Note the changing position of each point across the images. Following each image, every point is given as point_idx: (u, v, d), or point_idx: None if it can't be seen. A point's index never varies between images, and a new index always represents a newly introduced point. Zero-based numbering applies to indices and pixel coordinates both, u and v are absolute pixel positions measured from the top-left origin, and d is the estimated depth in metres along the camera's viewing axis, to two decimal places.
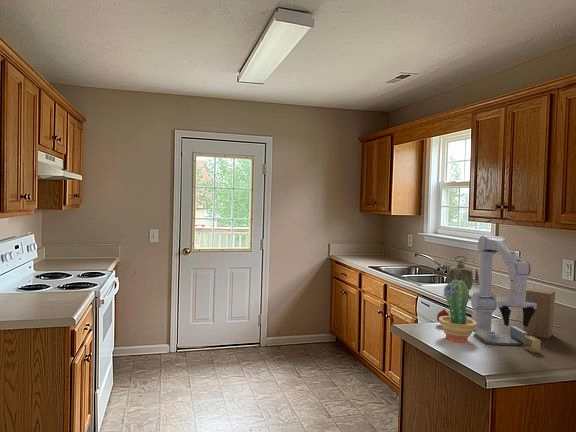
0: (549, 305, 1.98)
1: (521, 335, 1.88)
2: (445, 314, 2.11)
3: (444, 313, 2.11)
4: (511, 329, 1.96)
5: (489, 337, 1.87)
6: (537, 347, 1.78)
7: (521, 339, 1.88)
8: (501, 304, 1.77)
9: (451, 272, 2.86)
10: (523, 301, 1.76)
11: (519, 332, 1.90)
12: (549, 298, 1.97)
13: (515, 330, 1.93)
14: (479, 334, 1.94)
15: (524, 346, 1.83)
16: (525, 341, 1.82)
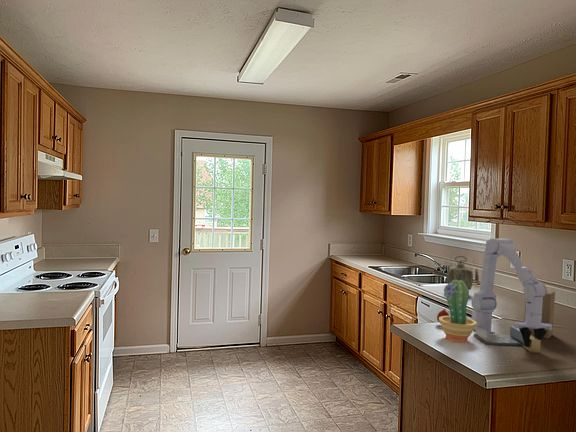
0: (549, 305, 1.98)
1: (521, 335, 1.88)
2: (445, 314, 2.11)
3: (444, 313, 2.11)
4: (511, 329, 1.96)
5: (489, 337, 1.87)
6: (537, 346, 1.78)
7: (521, 339, 1.88)
8: (517, 325, 1.80)
9: (451, 272, 2.86)
10: (539, 323, 1.78)
11: (519, 332, 1.90)
12: (549, 298, 1.97)
13: (515, 330, 1.93)
14: (479, 334, 1.94)
15: (524, 346, 1.83)
16: None
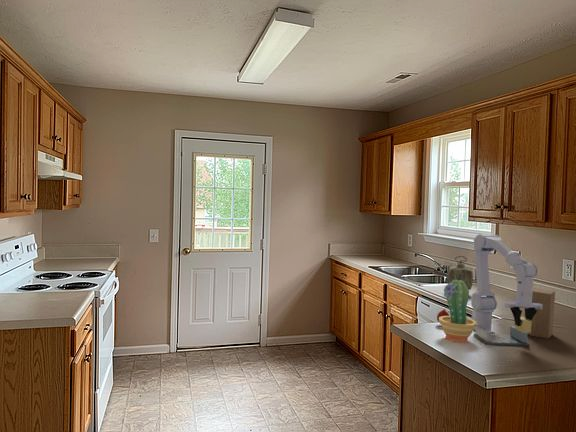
0: (549, 305, 1.98)
1: (521, 335, 1.88)
2: (445, 314, 2.11)
3: (444, 313, 2.11)
4: (511, 329, 1.96)
5: (489, 337, 1.87)
6: (528, 327, 1.81)
7: (521, 339, 1.88)
8: (508, 305, 1.83)
9: (451, 272, 2.86)
10: (529, 302, 1.82)
11: (519, 332, 1.90)
12: (549, 298, 1.97)
13: (515, 330, 1.93)
14: (479, 334, 1.94)
15: (515, 326, 1.86)
16: None
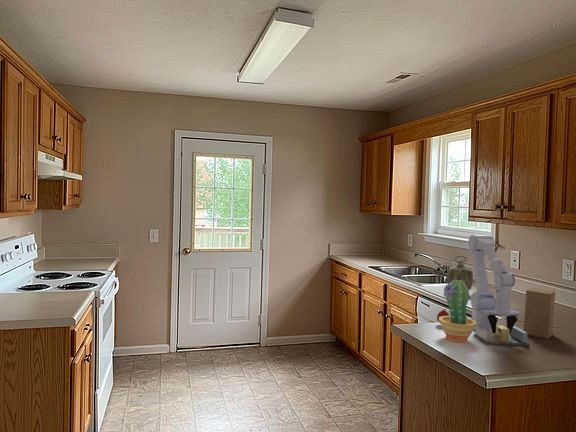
0: (549, 305, 1.98)
1: (521, 335, 1.88)
2: (445, 314, 2.11)
3: (444, 313, 2.11)
4: None
5: (489, 337, 1.87)
6: (506, 335, 1.89)
7: (521, 339, 1.88)
8: (487, 313, 1.91)
9: (451, 272, 2.86)
10: (508, 310, 1.89)
11: (519, 332, 1.90)
12: (549, 298, 1.97)
13: (515, 330, 1.93)
14: (479, 334, 1.94)
15: (495, 335, 1.94)
16: (496, 330, 1.93)
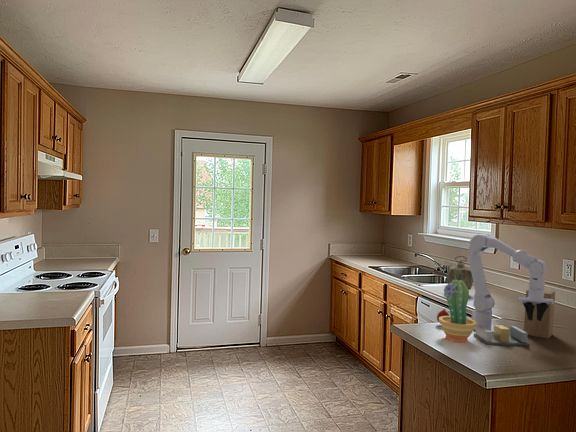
0: (549, 305, 1.98)
1: (521, 335, 1.88)
2: (445, 314, 2.11)
3: (444, 313, 2.11)
4: (511, 329, 1.96)
5: (489, 337, 1.87)
6: (506, 335, 1.89)
7: (521, 339, 1.88)
8: (521, 300, 1.91)
9: (451, 272, 2.86)
10: (541, 297, 1.89)
11: (519, 332, 1.90)
12: (549, 298, 1.97)
13: (515, 330, 1.93)
14: (479, 334, 1.94)
15: (495, 335, 1.94)
16: (496, 330, 1.93)
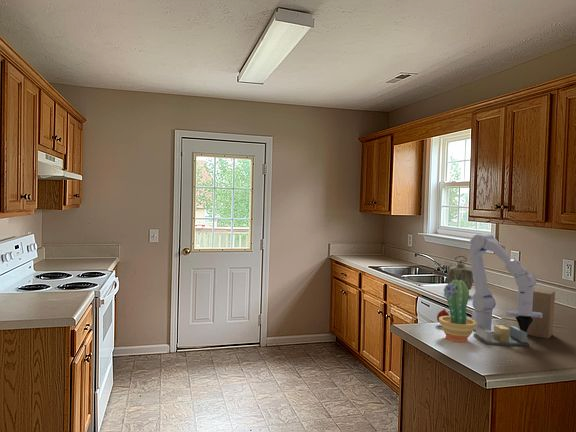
0: (549, 305, 1.98)
1: (521, 335, 1.88)
2: (445, 314, 2.11)
3: (444, 313, 2.11)
4: (510, 329, 1.96)
5: (489, 337, 1.87)
6: (506, 335, 1.89)
7: (521, 339, 1.88)
8: (509, 314, 1.91)
9: (451, 272, 2.86)
10: (530, 311, 1.89)
11: (519, 332, 1.90)
12: (549, 298, 1.97)
13: (515, 330, 1.93)
14: (479, 334, 1.94)
15: (495, 335, 1.94)
16: (496, 330, 1.93)
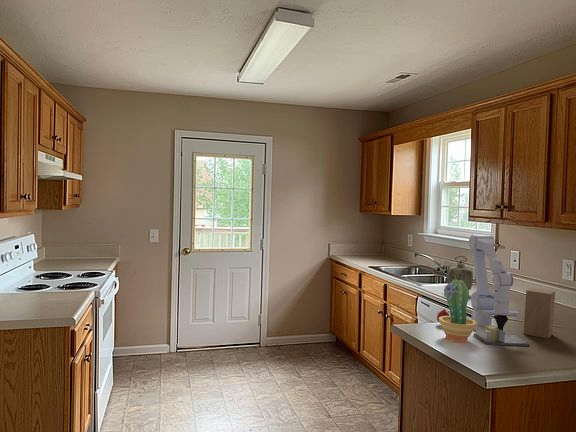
0: (549, 305, 1.98)
1: (498, 334, 1.88)
2: (445, 314, 2.11)
3: (444, 313, 2.11)
4: None
5: (489, 337, 1.87)
6: (495, 335, 1.89)
7: (498, 338, 1.88)
8: (486, 313, 1.91)
9: (451, 272, 2.86)
10: (506, 310, 1.89)
11: None
12: (549, 298, 1.97)
13: None
14: (479, 334, 1.94)
15: None
16: None
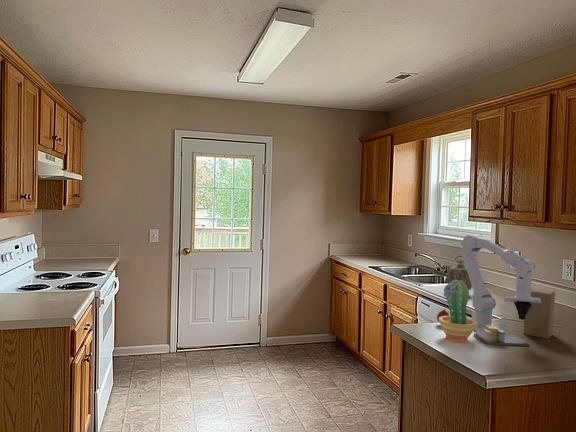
0: (549, 305, 1.98)
1: (498, 334, 1.88)
2: (445, 314, 2.11)
3: (444, 313, 2.11)
4: None
5: (489, 337, 1.87)
6: (495, 335, 1.89)
7: (498, 338, 1.88)
8: (508, 299, 1.92)
9: (451, 272, 2.86)
10: (528, 296, 1.90)
11: None
12: (549, 298, 1.97)
13: None
14: (479, 334, 1.94)
15: None
16: None
